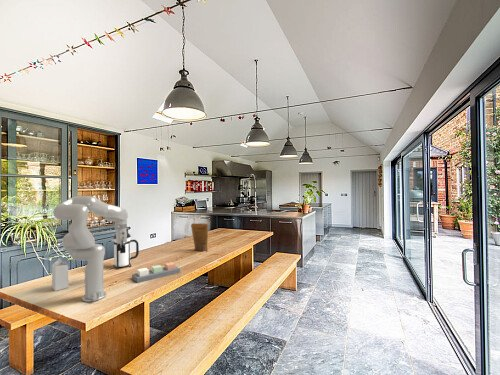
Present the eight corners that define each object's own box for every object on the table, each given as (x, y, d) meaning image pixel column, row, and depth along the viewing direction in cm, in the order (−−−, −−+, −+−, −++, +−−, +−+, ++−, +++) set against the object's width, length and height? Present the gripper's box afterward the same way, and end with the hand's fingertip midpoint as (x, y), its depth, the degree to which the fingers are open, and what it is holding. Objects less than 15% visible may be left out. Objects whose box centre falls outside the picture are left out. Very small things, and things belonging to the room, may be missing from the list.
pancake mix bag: (206, 252, 252) (206, 224, 252) (190, 250, 260) (190, 223, 260) (210, 250, 258) (209, 223, 258) (194, 249, 266) (194, 222, 266)
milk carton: (65, 285, 172) (64, 256, 172) (68, 287, 167) (68, 258, 167) (52, 288, 166) (51, 259, 166) (55, 291, 162) (54, 261, 162)
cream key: (148, 276, 182) (148, 269, 182) (140, 278, 178) (139, 271, 178) (145, 274, 187) (145, 267, 187) (137, 276, 183) (137, 269, 183)
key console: (180, 272, 195) (180, 268, 195) (137, 283, 174) (137, 278, 174) (173, 268, 204) (173, 265, 204) (132, 278, 183) (132, 274, 183)
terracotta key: (175, 270, 195) (175, 263, 195) (167, 272, 191) (167, 265, 191) (172, 268, 200) (171, 262, 200) (164, 270, 196) (164, 263, 196)
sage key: (162, 273, 189) (162, 266, 189) (154, 275, 185) (154, 268, 185) (159, 271, 193) (159, 264, 193) (151, 273, 189) (151, 266, 189)
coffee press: (125, 270, 201) (125, 232, 201) (107, 268, 205) (107, 231, 204) (139, 263, 218) (138, 228, 218) (122, 262, 221) (122, 227, 221)
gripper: (130, 227, 176) (130, 253, 176) (123, 224, 189) (123, 248, 190) (118, 229, 171) (118, 255, 171) (111, 226, 184) (112, 250, 185)
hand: (121, 251), depth 180 cm, fingers open, 7 cm apart
